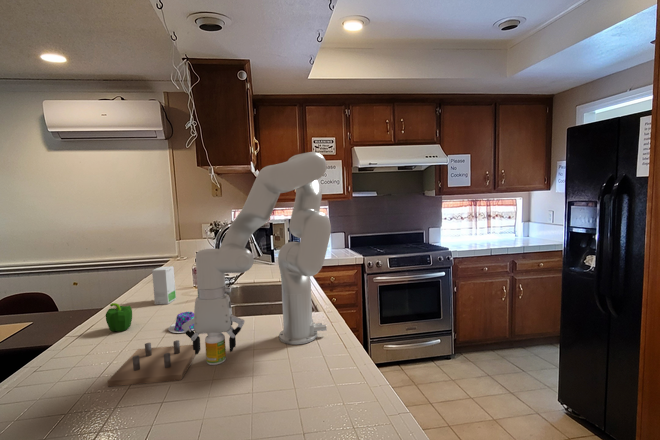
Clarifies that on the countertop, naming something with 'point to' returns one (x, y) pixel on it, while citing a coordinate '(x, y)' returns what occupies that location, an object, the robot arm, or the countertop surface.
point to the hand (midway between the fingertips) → (215, 350)
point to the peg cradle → (154, 365)
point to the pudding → (182, 322)
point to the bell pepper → (119, 317)
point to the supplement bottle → (215, 348)
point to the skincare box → (164, 285)
